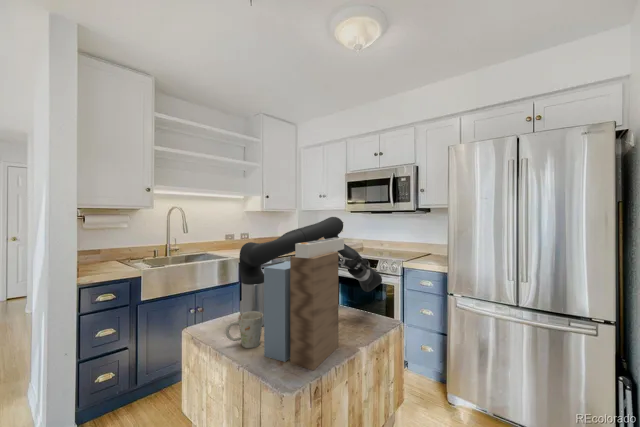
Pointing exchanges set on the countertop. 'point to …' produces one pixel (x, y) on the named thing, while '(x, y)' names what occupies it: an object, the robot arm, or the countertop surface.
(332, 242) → the light grey square-ended block
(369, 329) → the countertop surface
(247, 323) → the mug
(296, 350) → the walnut stand
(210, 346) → the countertop surface
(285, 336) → the blue stand
